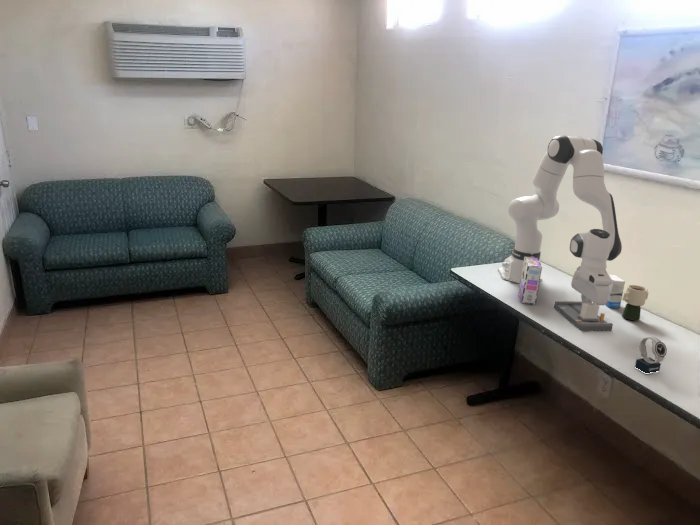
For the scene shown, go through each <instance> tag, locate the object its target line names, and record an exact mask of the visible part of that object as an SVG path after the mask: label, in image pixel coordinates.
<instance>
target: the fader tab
mask: <svg viewBox="0 0 700 525" xmlns="http://www.w3.org/2000/svg"><path fill="white" fill-rule="evenodd" d="M599 309H600V305H596V304H594V303H593V302H592V303H583V304H582V309H581V314H578V317H579V318H581V319H582V320H583V321H598V320H599V319H598V318H597V315H598V316H599Z"/></svg>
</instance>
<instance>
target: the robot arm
mask: <svg viewBox="0 0 700 525" xmlns="http://www.w3.org/2000/svg"><path fill="white" fill-rule="evenodd" d="M602 145H603V144H602V143H601V142H600V141H599V140H596V139H593V138H588V137H584V136H575V135H570V136H568V135H564V134H563V135H556V136H554V137H552V139H551V140H550V142H549V143H548V145H547V150H546V152H545V153H544V154H543V157H542V158H541V160H540V162H539V165H538V167H537V169H536V171H535V174H534V176H533V178H532V184H533V186H534V187H535V191H534V194H533V195H527V196H519V197H517V198H513V199H512V200H511V201H510V203H509V204H508V214H509V216H510V218H511V219H512V220H513V222H514V225H515V229H516V234H515V244H514V247H513V249H512V252H511V255H510V256H508V257H507V258H505V259H504V261H503V262H502V266H500V267H498V268H497V271H498V273H499V275H500V277H501V279H503V280H506V281H511V282H513V283H517V284H520V282H521V275H522V268H523V262H524V257H533V258H538V260H539V262H540V264H541V265H542V262H541V261H540V260H541V247H542V240H543V234H542V232H541V231H539V230H538V224H537V223H538V221H546V220H549V219H551V218H552V219H553V217H555V216H557V214H558V213H559V210H560V203H559V201H558V199H557V194H558V193H557V192H558V189H559V187H560V185H561V183H562V180H563V178H564V176H565V174H566V171H567V169H568V166H572V168H573V171H572V172H573V173H572V174H573V175H572V190H573V193H574V195H575V196H576V198H578V199H579V200H580V201H582V202H583V203H585V204H588V205H590V206H592V207H594V208H596V209H597V210H598V212H599V213H600V217H601V225H602V229H600V228H593V229H592V228H591V229H589V231H588V232H579V233H576V234H575V235H574V236H572V237H571V239H570V244H569V251H570V253H571V254H572V255H573V256H574V257H575V258H578V259H579V258H580V259H582V260H581V262H580V265H579V266H578V267H577V268H576V271H574V273H573V276H572V280H571V284H570V286H571V288H572V289H574V291H576V292H578V293H579V294H580V300H581V301H582V304H583V303H594V304H596V305H599V306H605V304H606V303H607V300H608V296H609V291H610V287H609V285H611V284H612V279H611V278H610V277H609V275H610V274H609V273H608V271H607V262H608V261H609V262H610V261H611V262H612V261H613V260H615V259H616V258H618V257H619V256H620V254H621V253H622V248H623V246H622V241H621V238H620V237H621V236H620V234H619V228H618V221H617V212H616V207H615V202H614V201H615V200H614V198H613V195H612V194H611V193H610V192H609V190H608V189H607V187H606V184H605V167H604V159H603V153H604V152H603V150H604V148H603V146H602ZM541 281H543V277H542V276H540V282H541ZM582 304H581V305H582Z"/></svg>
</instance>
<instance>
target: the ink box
mask: <svg viewBox="0 0 700 525" xmlns="http://www.w3.org/2000/svg"><path fill="white" fill-rule="evenodd" d="M608 275H609V277H610V278H611V279H612V284H611V285H609V287H610V291H609V296H608V300H607V303H606V304H605V305H606V306H607V308H610V309H615V308H616V309H620V308H621V303H622V300H623V295H624V288H625V283H626V281H625V280H623V279H622V278H620V277H619V276H617V275H615V274H608ZM605 305H604V306H605Z"/></svg>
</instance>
